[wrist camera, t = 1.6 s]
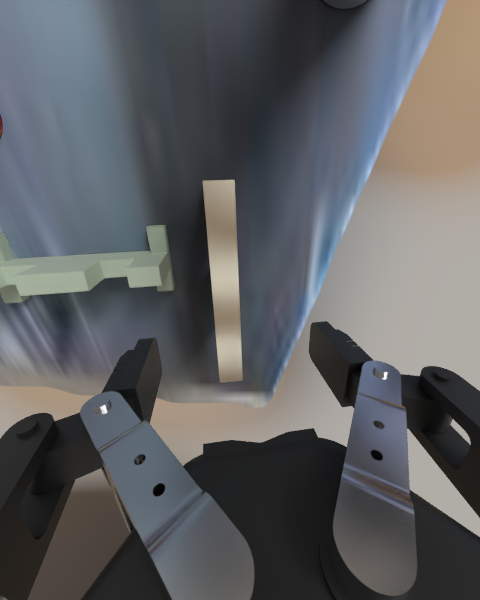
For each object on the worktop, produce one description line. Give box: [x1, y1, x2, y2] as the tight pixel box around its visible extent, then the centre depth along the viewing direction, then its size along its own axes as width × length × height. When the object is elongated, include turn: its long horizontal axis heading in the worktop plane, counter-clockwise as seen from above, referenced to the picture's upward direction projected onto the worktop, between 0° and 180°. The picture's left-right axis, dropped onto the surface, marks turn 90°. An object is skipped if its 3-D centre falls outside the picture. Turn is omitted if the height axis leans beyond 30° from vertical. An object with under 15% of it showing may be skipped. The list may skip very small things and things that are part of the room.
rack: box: [0, 225, 175, 303], centre depth 27 cm, size 8×20×8 cm, turn 92°
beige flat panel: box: [203, 180, 243, 383], centre depth 26 cm, size 16×2×15 cm, turn 2°
